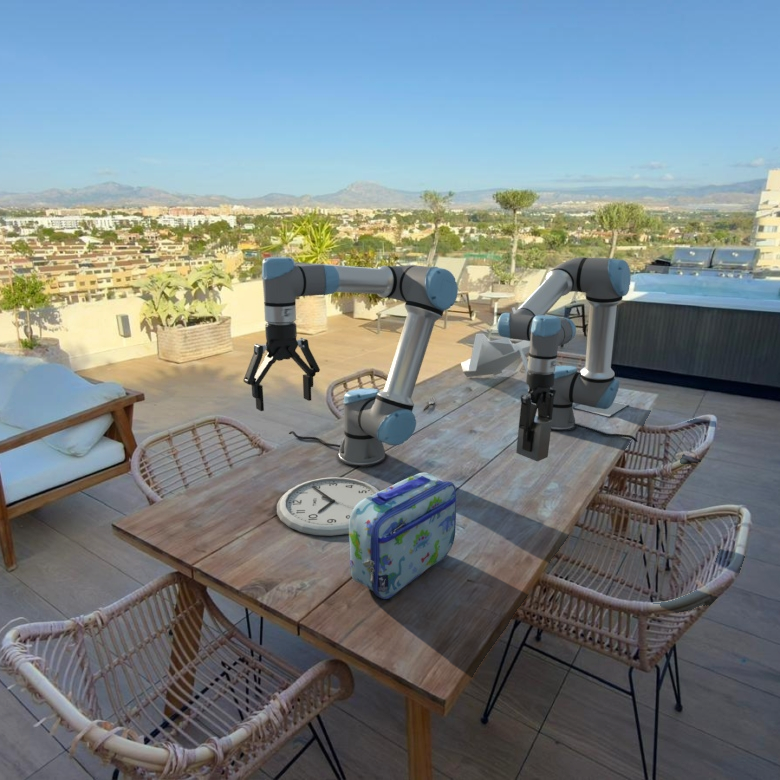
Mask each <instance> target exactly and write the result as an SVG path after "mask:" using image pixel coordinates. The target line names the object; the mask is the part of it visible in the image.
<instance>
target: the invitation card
mask: <svg viewBox="0 0 780 780" xmlns="http://www.w3.org/2000/svg"><path fill="white" fill-rule="evenodd" d="M628 406H629V404H627V403H623V402H618V401H614V402H613V403H612V405H611V406H610V407H609V408H608V409H601V408H595V407H590V406H586V405H581V404H577V405H575V406H574V407H573V409H575V410H581V411H584V412H587V413H593V414H596V415H600V416H604V417H608V418H609V417H611V416H613V415H614V414H616V413H617V412H619V411H621V410H623V409H624V408H626V407H628Z"/></svg>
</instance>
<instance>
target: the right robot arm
mask: <svg viewBox="0 0 780 780" xmlns="http://www.w3.org/2000/svg"><path fill="white" fill-rule="evenodd" d="M630 268H631V267H630V265H629V263H628V262H627V261H626V260H624V259H618V258H613V257H612V258H610V257H586V256H585V257H584V256H582V257H581V256H579V257H574V258H571V259H567V260H566V261H563V262H562V263H560V264H557V265H556V266H555V267H553V268H552V269H550V271H549V272H548V273H547V274H546V276H545V278H544V281H543V283H541V284H540V285H539V287H537V289H536V290H535V291H534V292H532V294H531V295H530V296H529V297H528V298H527V299H525V301H524V302H523V303H522V304H521V305H520V306H519V307H518V308H517V309H516V311H515V312H514V313H513V312H503V313H501V314H500V316H499V318H498V319H497V324H496V330H497V333H498V336H500V337H502V338H509V339H510V340H519V341H522V340H526V341H530V351H529V353H528V358H527V361H528V367H527V368H528V370H529V371H528V372H527V373H526V379H525V382H526V385H528V390H527V393H526V394H525V395H524V394H523V395H522V394H521V396H520V403H521V404H520V412H519V421H518V422H519V423H518V429H519V428H521V429H523V430H524V432H523V446H522V449H523V450H526V451H528V452H531V451H532V441H533V432H534V430H532V427H533V423H534V419H535V415H537V416H540V417H543V418H546V419H549V420H552V425H551V431H556V432H567V431H572V430H574V429H575V428H580V429H584V430H587V431H591V432H594V433H597V434H599V435H601V436H604V437H605V436H606V437H620V438H629V439H631V440H633V441H634V442H636V443H638V440H637V438H635V436H633V435H631V434H621V433H606V432H604V431H600V430H597V429H595V428H591V427H588V426H584V425H582V424H578V423H576V418H575V417H576V416H575V413H574V407H573V405H574V404H577V405H580V404H581V405H586V406H590V407H595V408H601V409H608V408H609V407H610V406H611V405H612V403H613V402H615V399H616V397H617V394H618V391H619V389H620V380H619V379H618V378H615V371H614V370H613V368H611V367H612V358H613V347H614V336H615V327H616V318H617V309H618V308H617V307H618V304H619V303H621V302H622V301H623V297H625V296H627V295H628V293H629V291H630V286H631V278H632V277H631V269H630ZM572 292H575V293H577V292H578V293H584V294H585V301H586V302H587V303H589V311H588V312H589V313H588V323H587V324H588V325H587V338H586V351H585V362H584V363H585V364H584V367H583V368H581V369H580V371H579V372H578V368H577V366H572V365H557V357H558V352H559V351H558V350H559V347H560V346H563V345H566V344H568V343H569V342H570V341H572V340H573V339H574V338H575V336H576V333H577V326H576V324H575V322H574V321H573V320H572V319H571V318H568V317H559V316H556V315H548V312H549V311H551V309H552V308H553V307H554V305H556V303H557V302H558V301H559V300H560V299H562V297H564V296H567V295H568V294H570V293H572Z"/></svg>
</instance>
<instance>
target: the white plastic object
mask: <svg viewBox="0 0 780 780" xmlns="http://www.w3.org/2000/svg"><path fill="white" fill-rule="evenodd" d="M511 310H512V313H514V312H515V311H516V310H517V309H516V307H515V306H513V307H511ZM529 351H530V341H526V340H520V341H519V342H516V343H513V342H512V341H511V339H510V338H507V337H502V338H498V339H493V340H490V339H489V338H488V336H486V334H485V333H475V337H474V342H473V346H472V351H471V356H470V358H468V359H467V360H465V361H462V362H461V363H460V364H461V371H462V372H463V374H464V376H465V377H466V378H470V377H471V378H472V377H481V376H489V375H493V376H497V375H500V374H502V373H503V371H504V370H505V369H507V367H509V366H510V365H512V364H513V363H515V362H516V361H517V360H519V359H520V358H521V361H522V364H523V367H524V370H525V373H526V374H527V372H528V371H529V370H528V368H527V367H528V358H527V354H529Z"/></svg>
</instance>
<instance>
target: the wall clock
mask: <svg viewBox="0 0 780 780" xmlns="http://www.w3.org/2000/svg"><path fill="white" fill-rule="evenodd" d="M380 491H381V490H380V489H379V488H377V487H376V486H374V485H372V484H371V483H369V482H365V481H362V480H359V479H355V478H349V477H338V476H337V477H335V476H333V477H332V476H331V477H322V478H317V479H312V480H307V481H305V482H302V483H299V484H297V485H295V486H293V487H292V488H290V489H288V490H287V491H286V492H285V493H284V494H283V495H281V496H280V498H279V499H278V502H277V503H276V515H277V517H278V518H279V520H280V521H281V522H282V523H283V524H285V525H286V526H287V527H288V528H290V529H293V530H295V531H297V532H299V533H303V534H308V535H312V536H327V537H328V536H329V537H331V536H332V537H333V536H342V535H349V520H350V515H351V513H352V511H353V509H354V507H355V506H356V505H357V504H358V503H359V502H360V501H362V500H363V499H365V498H367V497H370V496H372V495H374V494H376V493H378V492H380Z"/></svg>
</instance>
